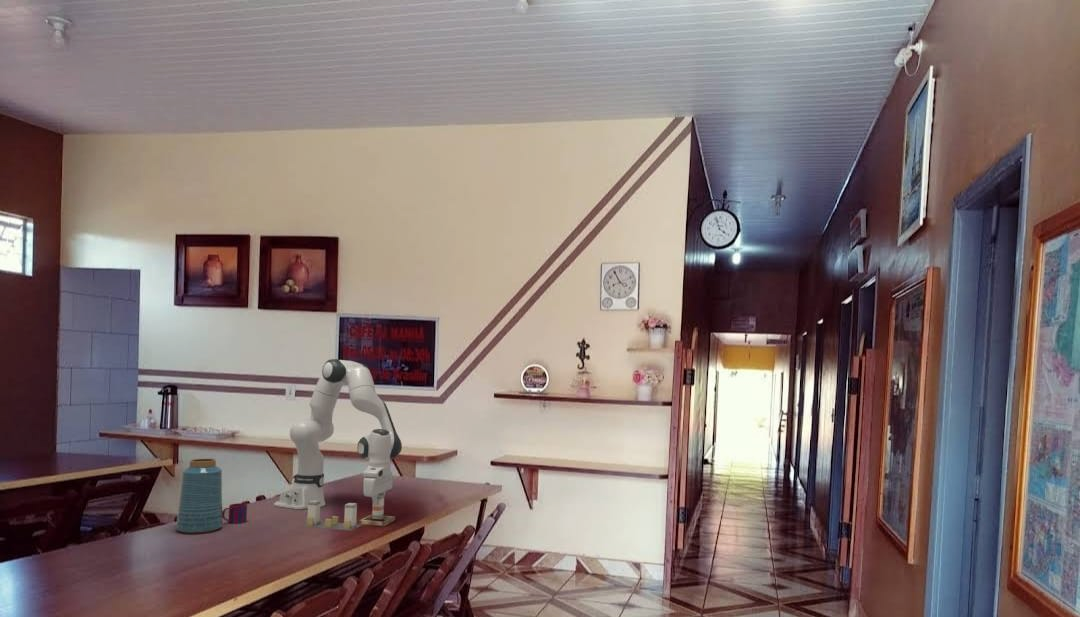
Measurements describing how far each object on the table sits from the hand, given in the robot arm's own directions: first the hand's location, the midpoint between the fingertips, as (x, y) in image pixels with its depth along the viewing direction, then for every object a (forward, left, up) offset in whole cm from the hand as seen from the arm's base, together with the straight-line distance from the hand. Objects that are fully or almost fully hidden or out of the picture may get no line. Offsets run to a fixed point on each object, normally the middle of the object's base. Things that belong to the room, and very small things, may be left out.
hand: (378, 503), depth 297 cm
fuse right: (-6, -12, -7) cm, 15 cm away
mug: (-56, -15, -9) cm, 59 cm away
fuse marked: (0, 0, -6) cm, 6 cm away
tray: (0, 0, -8) cm, 8 cm away
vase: (-61, -29, -9) cm, 68 cm away
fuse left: (-22, -12, -7) cm, 26 cm away
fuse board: (-14, -12, -8) cm, 20 cm away
